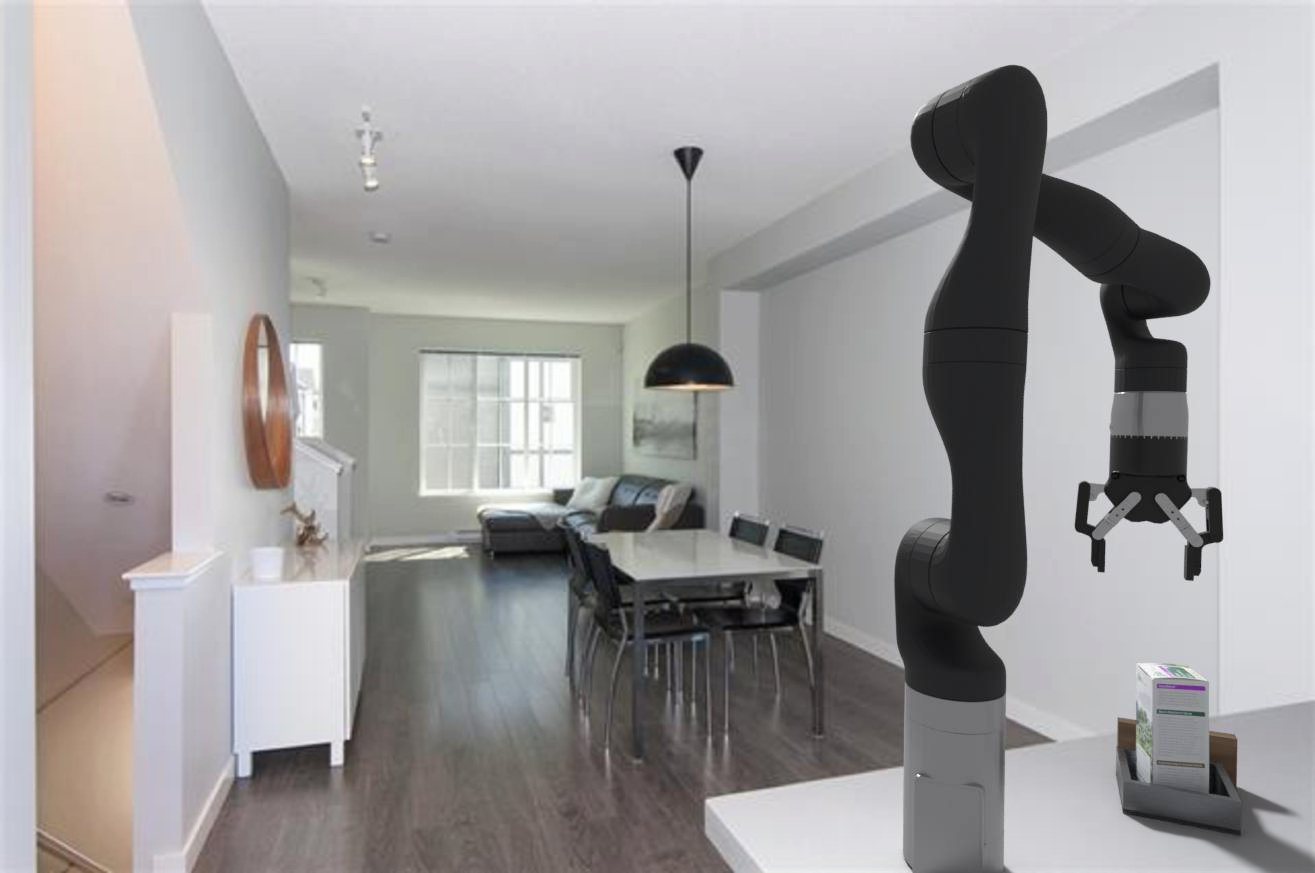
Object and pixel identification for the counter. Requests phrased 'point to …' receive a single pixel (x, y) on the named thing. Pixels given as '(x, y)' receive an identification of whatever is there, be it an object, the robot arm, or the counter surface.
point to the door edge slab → (1219, 746)
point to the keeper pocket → (1179, 798)
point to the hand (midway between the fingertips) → (1144, 575)
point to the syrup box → (1172, 726)
